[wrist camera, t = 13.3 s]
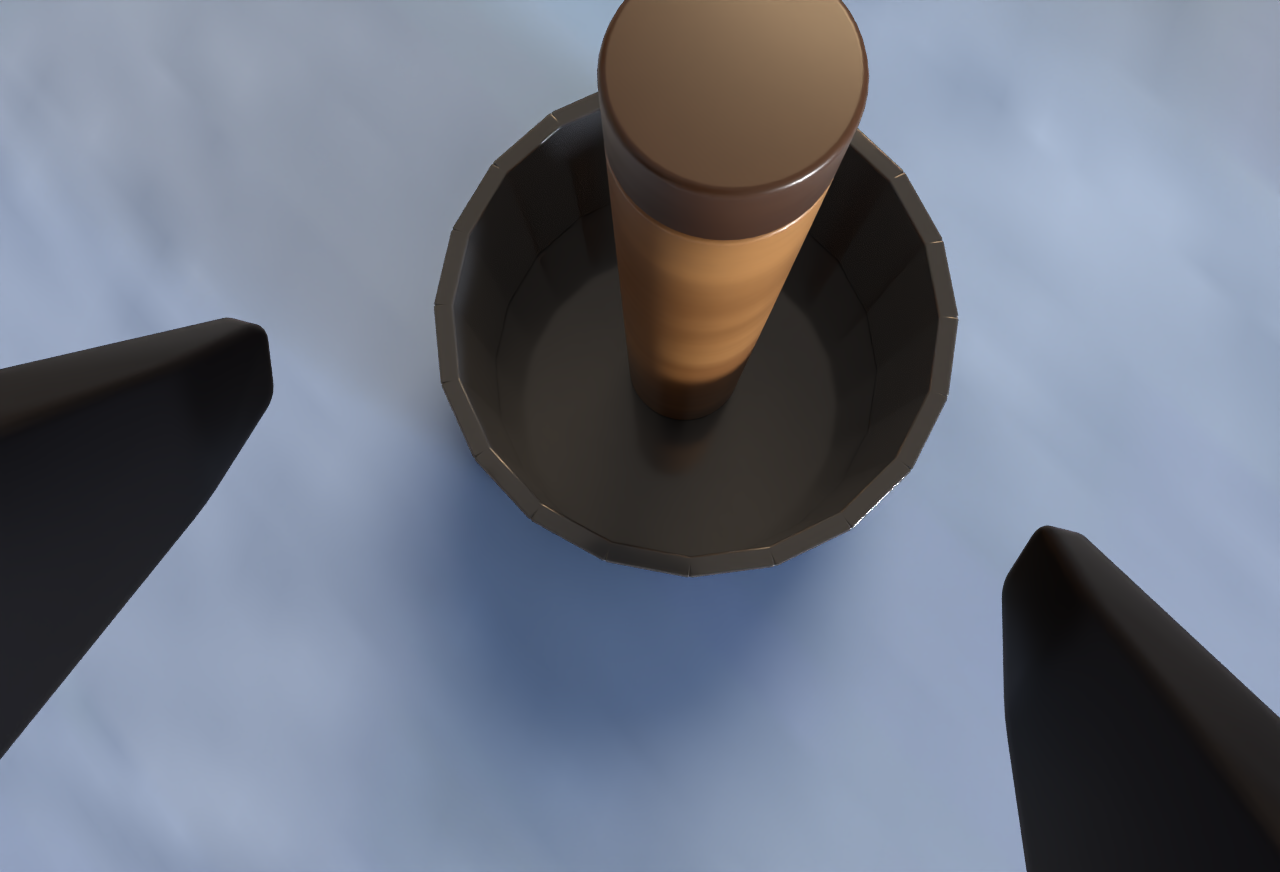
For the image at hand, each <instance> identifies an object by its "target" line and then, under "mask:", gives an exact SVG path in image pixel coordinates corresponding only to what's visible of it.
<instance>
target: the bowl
mask: <svg viewBox="0 0 1280 872" xmlns="http://www.w3.org/2000/svg"><path fill="white" fill-rule="evenodd" d="M434 304H435V306H434V314H435V325H436V336H437V347H438V358H439V369H440V380H441V384H442V388H443V390H444V393H445V395H446V397H447V399H448V402H449V404H450V406H451V408H452V411H453V413H454V415H455V417H456V420H457V422H458V424H459V426H460V429H461V431H462V433H463V435H464V438H465V440H466V442H467V444H468V447H469V449H470V451H471V453H472V456H473V457H474V458H475V461H476V462H477V463H478V464H479V465H480V466H481V467H482V468H483V469H484V470H485V471H486V473H487V474H488V475H489V476H490V477H491V478H492V479H493V480H494V481H495V482H496V483H497V485H498V486H499V487H500V488H501V489H502V490H503V491H504V492H505V493H506V494H507V495H508V497H509V498H510V499H511V500H512V501H513V502H514V503H515V504H516V505H517V506H518V507H519V509H520V510H521V511H522V512H523V513H524V514H525V515H526V516H527V517H528V518H529V519H531V520H532V521H533V522H534V523H536V524H538V525H540V526H542V527H543V528H545V529H547V530H549V531H551V532H552V533H554V534H556V535H558V536H560V537H561V538H563V539H565V540H567V541H569V542H570V543H572V544H574V545H576V546H578V547H579V548H581V549H583V550H585V551H587V552H588V553H590V554H592V555H594V556H596V557H597V558H599V559H601V560H604V561H606V562H610V563H615V564H620V565H625V566H630V567H636V568H641V569H646V570H651V571H657V572H662V573H667V574H672V575H678V576H683V577H699V576H707V575H715V574H722V573H730V572H738V571H745V570H753V569H761V568H768V567H773V566H777V565H779V564H782V563H784V562H786V561H788V560H790V559H792V558H794V557H796V556H798V555H800V554H802V553H804V552H806V551H808V550H810V549H813V548H815V547H817V546H819V545H821V544H823V543H825V542H827V541H829V540H831V539H833V538H835V537H837V536H839V535H841V534H843V533H846V532H848V531H850V530H851V528H854V527H855V526H856V525H857V524H858V523H859V522H860V521H861V520H862V519H863V518H864V517H865V516H866V515H867V514H868V513H869V512H870V511H871V510H872V509H873V508H874V507H875V506H876V505H877V504H878V503H879V502H880V501H881V500H882V499H883V498H884V497H885V496H886V495H887V494H888V493H889V492H891V491H892V490H893V489H894V488H895V487H896V486H897V485H898V484H899V483H900V482H901V481H902V480H903V479H904V478H905V477H906V476H907V475H908V474H909V473H910V471H911V469H913V467H914V465H915V463H916V461H917V459H918V457H919V455H920V453H921V451H922V449H923V447H924V445H925V443H926V441H927V439H928V437H929V435H930V433H931V431H932V429H933V427H934V425H935V423H936V421H937V419H938V417H939V415H940V413H941V411H942V409H943V407H944V405H945V403H946V401H947V397H948V395H949V387H950V380H951V372H952V364H953V357H954V349H955V341H956V334H957V326H958V312H957V307H956V302H955V297H954V292H953V287H952V282H951V277H950V272H949V267H948V262H947V257H946V252H945V247H944V242H943V241H942V237H941V235H940V234H939V232H938V230H937V228H936V227H935V225H934V223H933V221H932V220H931V218H930V216H929V214H928V212H927V211H926V209H925V207H924V205H923V204H922V202H921V200H920V198H919V197H918V195H917V193H916V191H915V190H914V188H913V186H912V184H911V182H910V181H909V179H908V177H907V175H906V174H905V173H903V170H902V169H901V168H900V167H899V166H898V165H897V164H896V163H895V162H894V161H892V160H891V159H890V158H889V157H888V156H887V155H886V154H885V153H884V152H883V151H882V150H881V149H880V148H878V147H877V146H876V145H875V144H874V143H873V142H872V141H871V140H870V139H869V138H868V137H867V136H866V135H864V134H863V133H862V132H861V131H860V130H859V129H858V128H857V129H856V132H855V134H854V136H853V138H852V140H851V142H850V144H849V146H848V149H847V151H846V153H845V155H844V157H843V159H842V161H841V163H840V166H839V168H838V170H837V172H836V174H835V176H834V178H833V180H832V183H831V185H830V187H829V189H828V191H827V193H826V195H825V197H824V200H823V202H822V204H821V206H820V208H819V210H818V212H817V215H816V217H815V219H814V221H813V223H812V225H811V227H810V229H809V232H808V234H807V236H806V238H805V240H804V242H803V244H802V246H801V249H800V251H799V253H798V255H797V257H796V259H795V261H794V263H793V266H792V268H791V270H790V272H789V274H788V276H787V278H786V280H785V283H784V285H783V287H782V289H781V291H780V293H779V295H778V297H777V300H776V302H775V304H774V306H773V308H772V310H771V312H770V314H769V317H768V319H767V321H766V323H765V325H764V327H763V329H762V331H761V334H760V336H759V338H758V340H757V342H756V344H755V346H754V348H753V351H752V353H751V355H750V357H749V359H748V361H747V363H746V365H745V368H744V370H743V372H742V374H741V376H740V378H739V380H738V382H737V385H736V387H735V389H734V391H733V393H732V394H731V396H730V397H729V399H728V400H727V401H726V402H725V403H724V404H723V405H722V406H721V407H720V408H719V409H717V410H716V411H714V412H713V413H711V414H709V415H707V416H704V417H701V418H698V419H692V420H677V419H672V418H668V417H665V416H663V415H660V414H659V413H657V412H655V411H653V410H652V409H651V408H649V407H648V406H647V405H646V404H645V403H644V402H643V401H642V400H641V398H640V397H639V396H638V394H637V393H636V391H635V389H634V386H633V384H632V381H631V377H630V371H629V362H628V353H627V344H626V335H625V326H624V317H623V308H622V299H621V290H620V281H619V273H618V264H617V255H616V246H615V237H614V228H613V219H612V210H611V201H610V192H609V183H608V174H607V165H606V157H605V148H604V138H603V130H602V121H601V112H600V103H599V94H598V92H596V93H594V94H592V95H589V96H587V97H585V98H583V99H580V100H578V101H576V102H574V103H571V104H569V105H567V106H565V107H562V108H560V109H558V110H555V111H553V112H552V114H551V113H550V114H549V115H547V116H546V117H545V118H544V119H543V120H542V121H541V122H539V123H538V124H537V125H536V126H535V127H534V128H532V129H531V130H530V131H529V132H528V133H527V134H526V135H524V136H523V137H522V138H521V139H520V140H519V141H517V142H516V143H515V144H514V145H513V146H512V147H510V148H509V149H508V150H507V151H506V152H505V153H504V154H502V155H501V156H500V157H499V158H498V159H497V160H495V161H494V163H493V164H492V165H491V166H490V168H489V170H488V171H487V173H486V175H485V176H484V178H483V179H482V181H481V183H480V184H479V186H478V188H477V189H476V191H475V192H474V194H473V196H472V197H471V199H470V201H469V202H468V204H467V205H466V207H465V209H464V210H463V212H462V214H461V215H460V217H459V219H458V220H457V222H456V223H455V225H454V227H453V230H452V231H451V235H450V239H449V243H448V248H447V252H446V256H445V260H444V264H443V269H442V273H441V277H440V281H439V285H438V290H437V294H436V298H435V302H434Z"/></svg>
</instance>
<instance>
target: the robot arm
mask: <svg viewBox="0 0 1280 872" xmlns="http://www.w3.org/2000/svg"><path fill="white" fill-rule="evenodd" d="M272 395H273V376H272V368H271V359H270V351H269V342H268V337H267V334H266V332H265V330H264V329H263V328H262V327H261V326H259V325H257V324H253V323H249V322H245V321H241V320H237V319H233V318H221V319H217V320H213V321H208V322H204V323H200V324H195V325H191V326H187V327H182V328H178V329H173V330H169V331H165V332H160V333H156V334H152V335H147V336H143V337H139V338H134V339H130V340H125V341H121V342H117V343H112V344H108V345H104V346H99V347H95V348H91V349H86V350H82V351H78V352H73V353H69V354H64V355H60V356H56V357H51V358H47V359H43V360H38V361H34V362H30V363H25V364H21V365H16V366H12V367H8V368H3V369H0V759H1V758H2V757H3V755H4V754H5V753H6V752H7V750H8V749H9V748H10V747H11V745H12V744H13V743H14V742H15V741H16V739H17V738H18V737H19V736H20V734H21V733H22V732H23V731H24V729H25V728H26V727H27V726H28V724H29V723H30V722H31V721H32V719H33V718H34V717H35V716H36V715H37V713H38V712H39V711H40V710H41V708H42V707H43V706H44V705H45V703H46V702H47V701H48V700H49V698H50V697H51V696H52V695H53V693H54V692H55V691H56V690H57V688H58V687H59V686H60V685H61V684H62V682H63V681H64V680H65V679H66V677H67V676H68V675H69V674H70V672H71V671H72V670H73V669H74V667H75V666H76V665H77V664H78V662H79V661H80V660H81V659H82V658H83V656H84V655H85V654H86V653H87V651H88V650H89V649H90V648H91V646H92V645H93V644H94V643H95V641H96V640H97V639H98V638H99V636H100V635H101V634H102V633H103V631H104V630H105V629H106V628H107V627H108V625H109V624H110V623H111V622H112V620H113V619H114V618H115V617H116V615H117V614H118V613H119V612H120V610H121V609H122V608H123V607H124V605H125V604H126V603H127V602H128V601H129V599H130V598H131V597H132V596H133V594H134V593H135V592H136V591H137V589H138V588H139V587H140V586H141V584H142V583H143V582H144V581H145V579H146V578H147V577H148V576H149V574H150V573H151V572H152V571H153V570H154V568H155V567H156V566H157V565H158V563H159V562H160V561H161V560H162V558H163V557H164V556H165V555H166V553H167V552H168V551H169V550H170V548H171V547H172V546H173V545H174V543H175V542H176V541H177V540H178V539H179V537H180V536H181V535H182V534H183V532H184V531H185V530H186V529H187V527H188V526H189V525H190V524H191V522H192V521H193V520H194V519H195V517H196V516H197V515H198V513H199V512H200V511H201V509H202V508H203V507H204V505H205V504H206V503H207V501H208V500H209V498H210V497H211V496H212V494H213V493H214V491H215V490H216V488H217V487H218V485H219V484H220V482H221V480H222V479H223V477H224V476H225V474H226V472H227V471H228V469H229V468H230V466H231V465H232V463H233V461H234V460H235V458H236V457H237V455H238V454H239V452H240V450H241V449H242V447H243V446H244V444H245V442H246V441H247V439H248V438H249V436H250V435H251V433H252V431H253V430H254V428H255V427H256V425H257V423H258V422H259V420H260V419H261V417H262V416H263V414H264V412H265V411H266V409H267V408H268V406H269V404H270V401H271V399H272ZM1002 628H1003V676H1004V707H1005V721H1006V730H1007V738H1008V745H1009V752H1010V759H1011V766H1012V773H1013V780H1014V787H1015V794H1016V800H1017V807H1018V814H1019V821H1020V828H1021V835H1022V842H1023V849H1024V856H1025V863H1026V870H1027V872H1280V718H1279V717H1278V716H1277V715H1276V714H1275V713H1274V712H1273V711H1272V710H1271V709H1270V708H1269V707H1268V706H1267V705H1265V704H1264V703H1263V702H1262V701H1261V700H1260V699H1259V698H1258V697H1257V696H1256V695H1255V694H1254V693H1253V692H1251V691H1250V690H1249V689H1248V688H1247V687H1246V686H1245V685H1244V684H1243V683H1242V682H1241V681H1240V680H1239V679H1237V678H1236V677H1235V676H1234V675H1233V674H1232V673H1231V672H1230V671H1229V670H1228V669H1227V668H1226V667H1225V666H1223V665H1222V664H1221V663H1220V662H1219V661H1218V660H1217V659H1216V658H1215V657H1214V656H1213V655H1212V654H1211V653H1209V652H1208V651H1207V650H1206V649H1205V648H1204V647H1203V646H1202V645H1201V644H1200V643H1199V642H1198V641H1197V640H1196V639H1194V638H1193V637H1192V636H1191V635H1190V634H1189V633H1188V632H1187V631H1186V630H1185V629H1184V628H1183V627H1182V626H1180V625H1179V624H1178V623H1177V622H1176V621H1175V620H1174V619H1173V618H1172V617H1171V616H1170V615H1169V614H1168V613H1166V612H1165V611H1164V610H1163V609H1162V608H1161V607H1160V606H1159V605H1158V604H1157V603H1156V602H1155V601H1154V600H1153V599H1151V598H1150V597H1149V596H1148V595H1147V594H1146V593H1145V592H1144V591H1143V590H1142V589H1141V588H1140V587H1139V586H1137V585H1136V584H1135V583H1134V582H1133V581H1132V580H1131V579H1130V578H1129V577H1128V576H1127V575H1126V574H1125V573H1124V572H1122V571H1121V570H1120V569H1119V568H1118V567H1117V566H1116V565H1115V564H1114V563H1113V562H1112V561H1111V560H1110V559H1108V558H1107V557H1106V556H1105V555H1104V554H1103V553H1102V552H1101V551H1100V550H1099V549H1098V548H1097V547H1096V546H1094V545H1093V544H1092V543H1091V542H1090V541H1089V540H1088V539H1087V538H1086V537H1085V536H1083V535H1082V534H1079V533H1077V532H1073V531H1069V530H1065V529H1061V528H1057V527H1053V526H1048V525H1047V526H1043V527H1040V528H1039V529H1038V530H1036V531H1035V533H1034V534H1033V535H1032V537H1031V538H1030V540H1029V541H1028V543H1027V545H1026V546H1025V548H1024V549H1023V551H1022V552H1021V554H1020V556H1019V557H1018V559H1017V560H1016V562H1015V563H1014V565H1013V567H1012V568H1011V570H1010V571H1009V573H1008V575H1007V577H1006V579H1005V582H1004V585H1003V590H1002Z"/></svg>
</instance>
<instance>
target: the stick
mask: <svg viewBox="0 0 1280 872" xmlns="http://www.w3.org/2000/svg"><path fill="white" fill-rule="evenodd" d="M597 81H598V94H599V103H600V112H601V121H602V130H603V138H604V148H605V157H606V165H607V174H608V183H609V192H610V201H611V210H612V219H613V228H614V237H615V246H616V255H617V264H618V273H619V281H620V290H621V299H622V308H623V317H624V326H625V335H626V344H627V353H628V362H629V371H630V377H631V381H632V384H633V386H634V389H635V391H636V393H637V394H638V396H639V397H640V398H641V400H642V401H643V402H644V403H645V404H646V405H647V406H648V407H649V408H651V409H652V410H653V411H655V412H657V413H659V414H660V415H663V416H665V417H668V418H672V419H677V420H692V419H698V418H701V417H704V416H707V415H709V414H711V413H713V412H714V411H716V410H717V409H719V408H720V407H721V406H722V405H723V404H724V403H725V402H726V401H727V400H728V399H729V397H730V396H731V394H732V393H733V391H734V389H735V387H736V385H737V382H738V380H739V378H740V376H741V374H742V372H743V370H744V368H745V365H746V363H747V361H748V359H749V357H750V355H751V353H752V351H753V348H754V346H755V344H756V342H757V340H758V338H759V336H760V334H761V331H762V329H763V327H764V325H765V323H766V321H767V319H768V317H769V314H770V312H771V310H772V308H773V306H774V304H775V302H776V300H777V297H778V295H779V293H780V291H781V289H782V287H783V285H784V283H785V280H786V278H787V276H788V274H789V272H790V270H791V268H792V266H793V263H794V261H795V259H796V257H797V255H798V253H799V251H800V249H801V246H802V244H803V242H804V240H805V238H806V236H807V234H808V232H809V229H810V227H811V225H812V223H813V221H814V219H815V217H816V215H817V212H818V210H819V208H820V206H821V204H822V202H823V200H824V197H825V195H826V193H827V191H828V189H829V187H830V185H831V183H832V180H833V178H834V176H835V174H836V172H837V170H838V168H839V166H840V163H841V161H842V159H843V157H844V155H845V153H846V151H847V149H848V146H849V144H850V142H851V140H852V138H853V136H854V134H855V132H856V129H857V127H858V125H859V123H860V120H861V117H862V115H863V112H864V109H865V105H866V100H867V95H868V84H869V70H868V59H867V55H866V51H865V46H864V42H863V39H862V36H861V34H860V31H859V28H858V26H857V24H856V22H855V20H854V18H853V16H852V15H851V13H850V11H849V10H848V8H847V7H846V6H845V4H844V3H843V2H842V0H624V2H623V3H622V4H621V5H620V7H619V8H618V10H617V12H616V13H615V15H614V17H613V18H612V20H611V22H610V23H609V26H608V28H607V31H606V33H605V35H604V38H603V41H602V45H601V49H600V53H599V59H598V68H597Z"/></svg>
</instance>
